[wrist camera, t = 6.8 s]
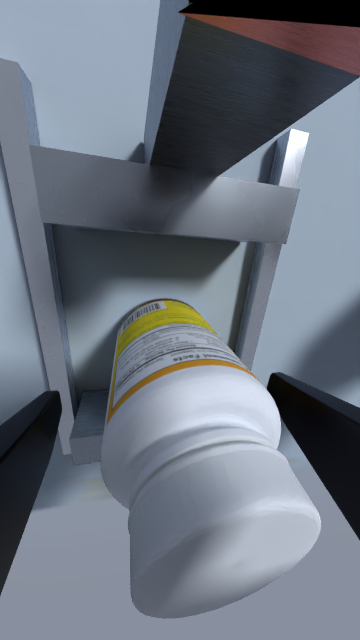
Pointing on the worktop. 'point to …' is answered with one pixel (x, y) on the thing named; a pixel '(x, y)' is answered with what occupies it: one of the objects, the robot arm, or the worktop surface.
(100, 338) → the worktop surface
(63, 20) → the worktop surface
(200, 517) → the supplement bottle
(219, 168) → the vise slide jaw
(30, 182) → the frame
